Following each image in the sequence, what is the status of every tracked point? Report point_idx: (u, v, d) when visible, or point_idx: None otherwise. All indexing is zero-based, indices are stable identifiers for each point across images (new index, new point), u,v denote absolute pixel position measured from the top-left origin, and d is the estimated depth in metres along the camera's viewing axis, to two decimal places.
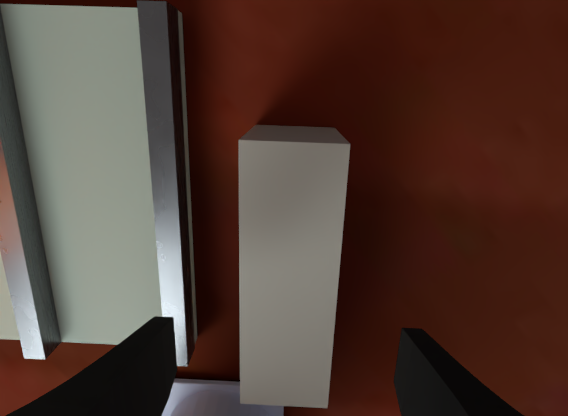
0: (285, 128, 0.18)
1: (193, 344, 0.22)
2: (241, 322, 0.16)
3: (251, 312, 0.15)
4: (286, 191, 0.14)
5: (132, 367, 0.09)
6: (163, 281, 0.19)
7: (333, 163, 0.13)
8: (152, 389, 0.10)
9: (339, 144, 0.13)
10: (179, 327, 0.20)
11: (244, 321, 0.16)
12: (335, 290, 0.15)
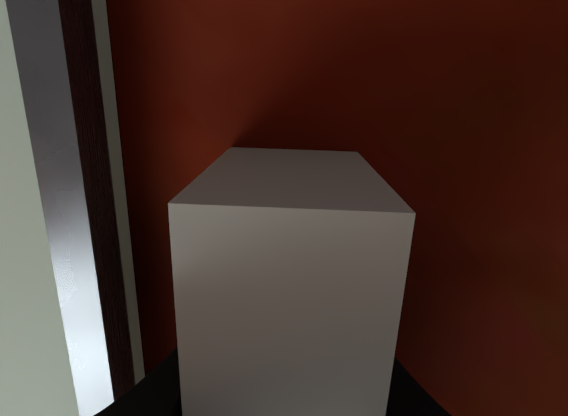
0: (277, 157, 0.10)
1: None
2: None
3: None
4: (274, 305, 0.07)
5: None
6: (82, 398, 0.12)
7: (375, 253, 0.06)
8: None
9: (391, 213, 0.06)
10: None
11: None
12: None
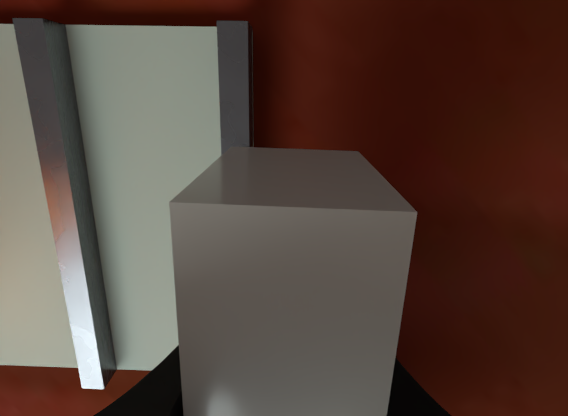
0: (277, 156, 0.10)
1: None
2: None
3: None
4: (275, 305, 0.07)
5: None
6: None
7: (376, 251, 0.06)
8: None
9: (392, 212, 0.06)
10: None
11: None
12: None
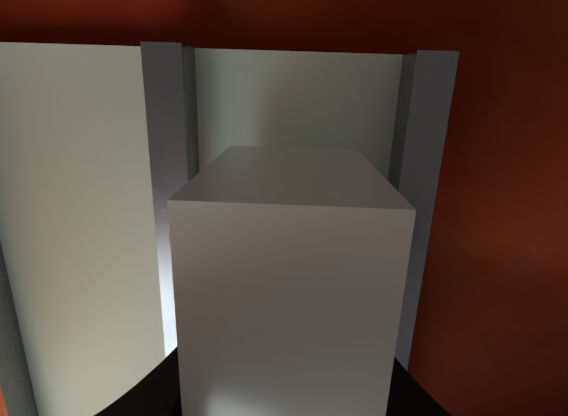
0: (277, 155, 0.10)
1: None
2: None
3: None
4: (274, 302, 0.07)
5: None
6: None
7: (375, 249, 0.06)
8: None
9: (391, 210, 0.06)
10: None
11: None
12: None
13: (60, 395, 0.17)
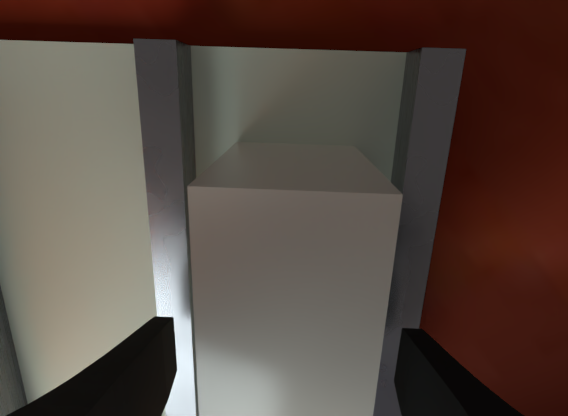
0: (280, 150, 0.11)
1: None
2: None
3: None
4: (280, 277, 0.07)
5: (132, 367, 0.09)
6: (378, 411, 0.14)
7: (367, 229, 0.07)
8: (152, 389, 0.10)
9: (381, 195, 0.07)
10: None
11: None
12: None
13: None
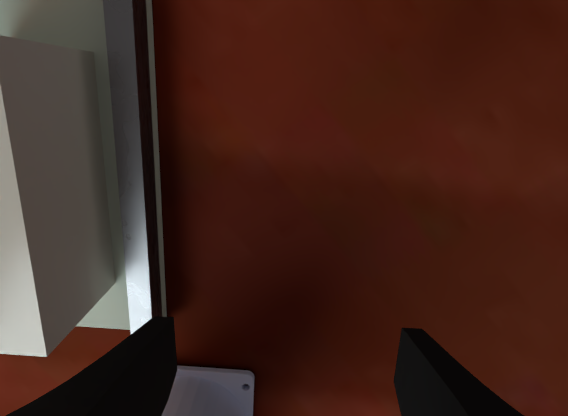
0: None
1: None
2: None
3: None
4: None
5: (132, 367, 0.09)
6: (128, 261, 0.19)
7: None
8: (152, 389, 0.10)
9: None
10: (145, 308, 0.19)
11: None
12: (19, 215, 0.13)
13: None
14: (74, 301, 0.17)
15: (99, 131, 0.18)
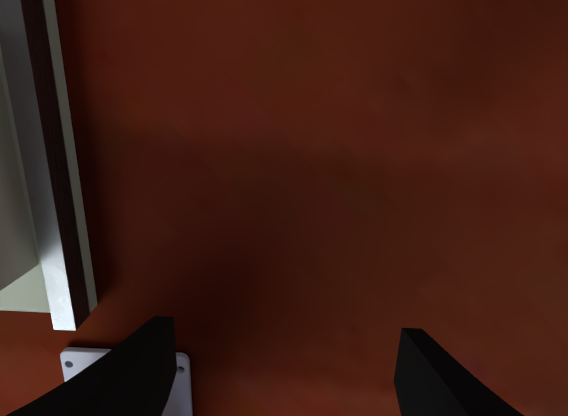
0: None
1: (87, 309, 0.21)
2: None
3: None
4: None
5: (132, 367, 0.09)
6: (41, 240, 0.18)
7: None
8: (152, 389, 0.10)
9: None
10: (62, 288, 0.19)
11: None
12: None
13: None
14: None
15: (5, 108, 0.18)
